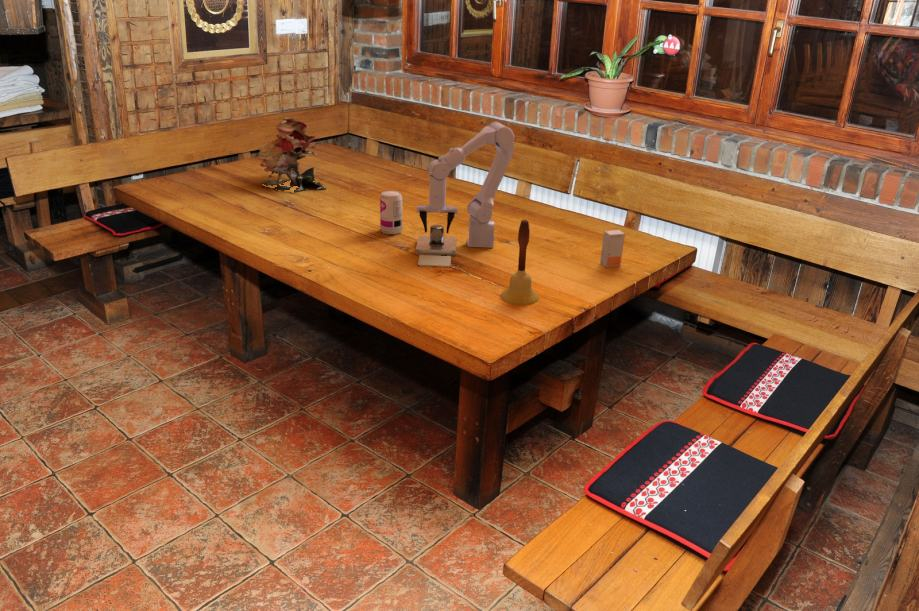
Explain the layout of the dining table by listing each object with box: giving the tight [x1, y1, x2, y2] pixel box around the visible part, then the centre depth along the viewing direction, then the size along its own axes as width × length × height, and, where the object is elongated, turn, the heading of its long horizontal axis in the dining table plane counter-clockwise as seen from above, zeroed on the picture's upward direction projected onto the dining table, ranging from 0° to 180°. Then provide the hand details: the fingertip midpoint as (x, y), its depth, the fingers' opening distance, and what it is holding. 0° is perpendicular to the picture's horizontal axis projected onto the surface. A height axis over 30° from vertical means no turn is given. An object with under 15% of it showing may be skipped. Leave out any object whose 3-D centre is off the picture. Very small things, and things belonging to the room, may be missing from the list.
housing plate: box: [415, 235, 458, 257], centre depth 277 cm, size 14×14×2 cm
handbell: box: [499, 219, 540, 306], centre depth 236 cm, size 12×12×25 cm
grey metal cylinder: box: [429, 224, 445, 246], centre depth 276 cm, size 5×5×8 cm
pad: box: [417, 255, 452, 268], centre depth 266 cm, size 11×9×1 cm
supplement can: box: [379, 190, 403, 235], centre depth 289 cm, size 8×8×15 cm
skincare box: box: [599, 229, 626, 268], centre depth 266 cm, size 6×4×12 cm
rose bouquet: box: [259, 117, 332, 193], centre depth 337 cm, size 26×29×30 cm
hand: (436, 232), depth 275 cm, fingers open, 7 cm apart
